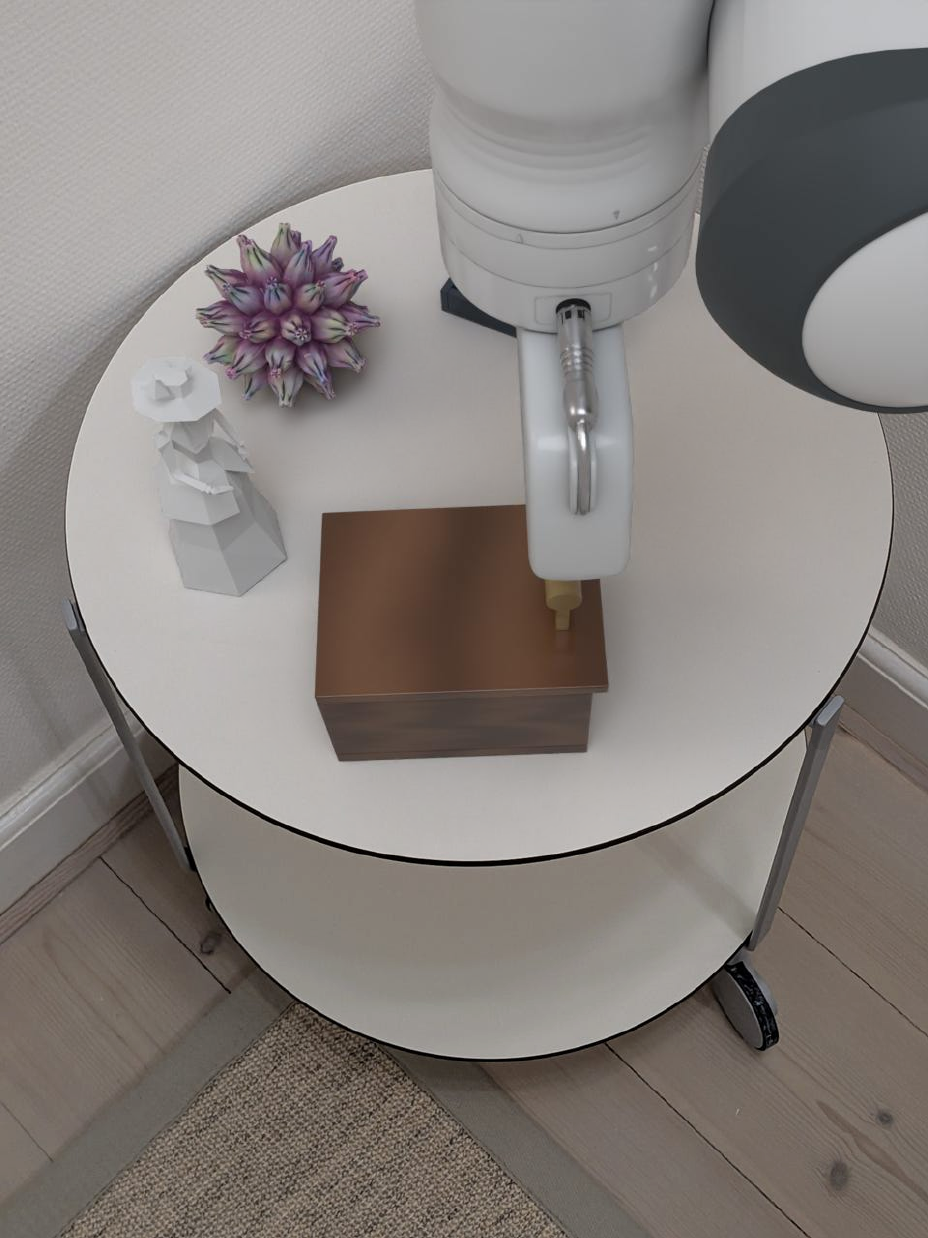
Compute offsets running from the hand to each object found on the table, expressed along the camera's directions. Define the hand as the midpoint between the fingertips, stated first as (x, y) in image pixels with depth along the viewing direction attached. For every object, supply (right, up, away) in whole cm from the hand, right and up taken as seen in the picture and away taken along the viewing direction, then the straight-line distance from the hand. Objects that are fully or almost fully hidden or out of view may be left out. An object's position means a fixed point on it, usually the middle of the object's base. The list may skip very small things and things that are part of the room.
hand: (563, 443), depth 54 cm
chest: (-5, -11, +20) cm, 23 cm away
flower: (-16, +9, +31) cm, 36 cm away
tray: (+1, +16, +34) cm, 37 cm away
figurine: (-19, -3, +25) cm, 32 cm away
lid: (-5, -7, +13) cm, 15 cm away
